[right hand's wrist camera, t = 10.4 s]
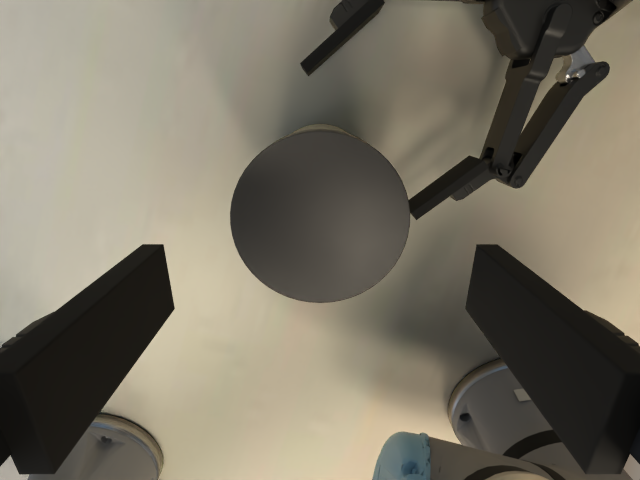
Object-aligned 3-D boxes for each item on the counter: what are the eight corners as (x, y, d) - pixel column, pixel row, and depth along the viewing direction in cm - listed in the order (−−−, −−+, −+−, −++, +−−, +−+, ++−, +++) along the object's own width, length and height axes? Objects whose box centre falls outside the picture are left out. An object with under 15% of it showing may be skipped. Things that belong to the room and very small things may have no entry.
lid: (431, 228, 21) (443, 241, 19) (306, 310, 23) (304, 330, 21) (337, 90, 18) (340, 87, 16) (204, 198, 21) (192, 208, 18)
